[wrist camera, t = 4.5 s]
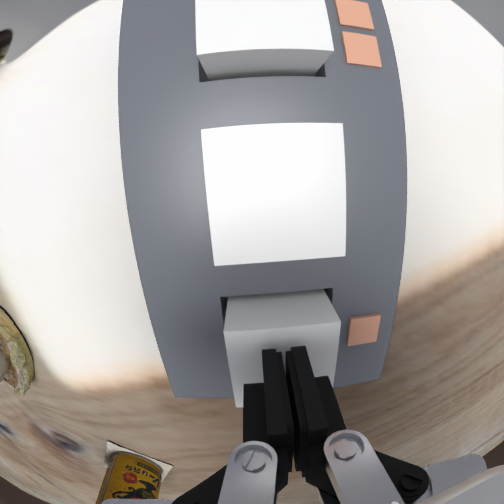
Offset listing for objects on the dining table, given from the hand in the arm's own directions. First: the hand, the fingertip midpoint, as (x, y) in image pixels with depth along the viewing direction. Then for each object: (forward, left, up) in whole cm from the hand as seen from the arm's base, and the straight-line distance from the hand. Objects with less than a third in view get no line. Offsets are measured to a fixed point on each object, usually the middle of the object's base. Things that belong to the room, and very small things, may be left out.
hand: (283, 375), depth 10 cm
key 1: (0, -14, -4) cm, 14 cm away
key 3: (0, 0, -4) cm, 4 cm away
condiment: (+16, +21, -6) cm, 27 cm away
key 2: (0, -7, -4) cm, 8 cm away
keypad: (0, -7, -6) cm, 9 cm away
